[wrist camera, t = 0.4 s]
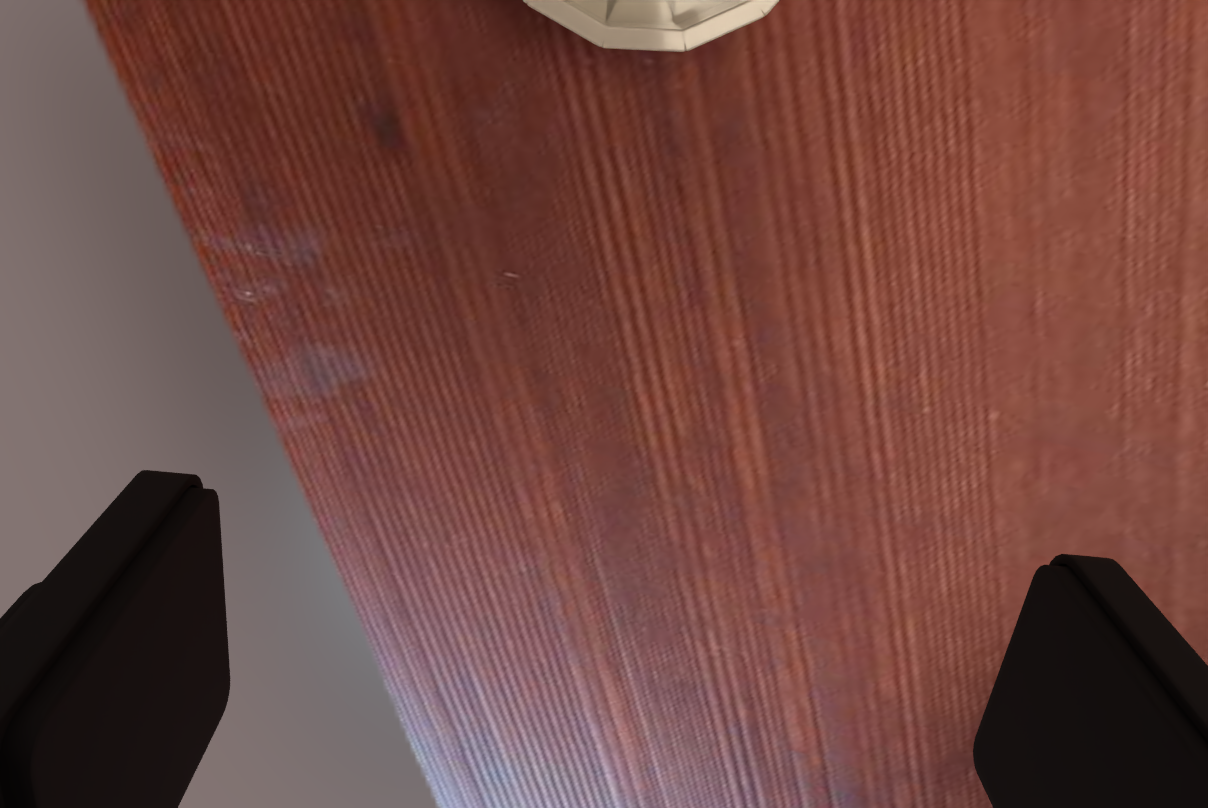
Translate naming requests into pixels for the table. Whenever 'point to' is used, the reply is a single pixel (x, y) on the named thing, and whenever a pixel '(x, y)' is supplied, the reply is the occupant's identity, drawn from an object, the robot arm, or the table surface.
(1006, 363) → the table surface
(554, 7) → the bowl
